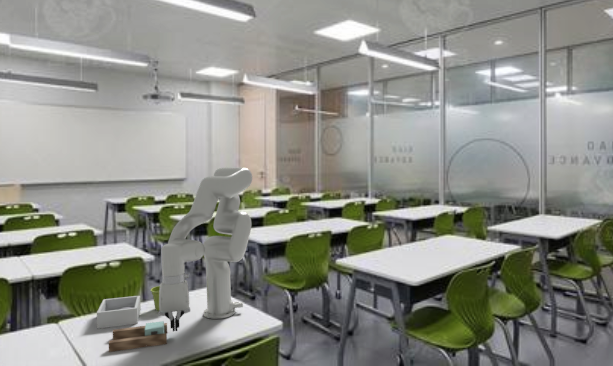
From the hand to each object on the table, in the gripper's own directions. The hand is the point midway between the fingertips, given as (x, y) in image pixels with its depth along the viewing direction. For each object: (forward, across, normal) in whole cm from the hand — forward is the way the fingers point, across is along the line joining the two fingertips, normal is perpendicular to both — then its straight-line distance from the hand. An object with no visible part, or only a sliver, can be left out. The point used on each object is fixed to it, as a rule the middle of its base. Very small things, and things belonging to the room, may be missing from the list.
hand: (175, 329), depth 150 cm
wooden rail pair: (+3, +12, 0) cm, 12 cm away
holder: (+2, +21, -25) cm, 33 cm away
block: (+3, +7, 0) cm, 7 cm away
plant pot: (+2, +5, -31) cm, 32 cm away
